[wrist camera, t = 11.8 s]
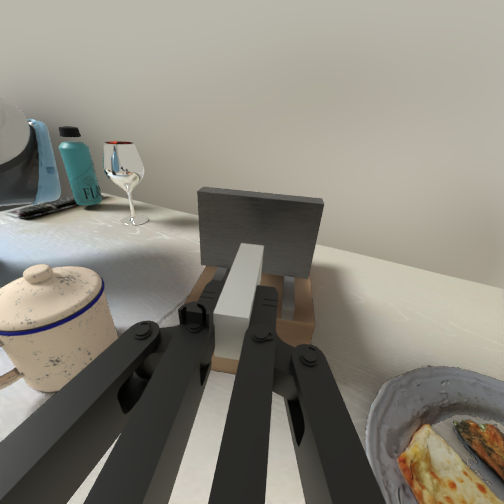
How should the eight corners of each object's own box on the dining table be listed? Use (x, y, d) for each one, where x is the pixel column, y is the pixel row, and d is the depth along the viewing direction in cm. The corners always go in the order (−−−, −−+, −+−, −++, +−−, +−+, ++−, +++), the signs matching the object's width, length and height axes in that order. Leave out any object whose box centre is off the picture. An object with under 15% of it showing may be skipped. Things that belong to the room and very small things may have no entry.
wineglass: (156, 215, 64) (145, 142, 55) (145, 227, 57) (130, 146, 48) (125, 214, 64) (109, 140, 55) (109, 226, 56) (89, 143, 48)
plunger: (303, 299, 23) (324, 204, 18) (202, 285, 24) (197, 191, 19) (300, 252, 31) (314, 178, 26) (225, 242, 32) (225, 170, 27)
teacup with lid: (88, 315, 32) (59, 237, 26) (138, 341, 29) (117, 259, 23) (-36, 396, 22) (-125, 301, 17) (18, 449, 19) (-68, 353, 14)
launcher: (299, 385, 25) (318, 311, 20) (190, 366, 26) (182, 291, 21) (296, 299, 37) (308, 239, 32) (222, 288, 39) (222, 229, 33)
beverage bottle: (87, 212, 63) (62, 127, 53) (71, 207, 65) (44, 125, 56) (109, 206, 68) (90, 127, 58) (94, 201, 71) (73, 125, 61)
